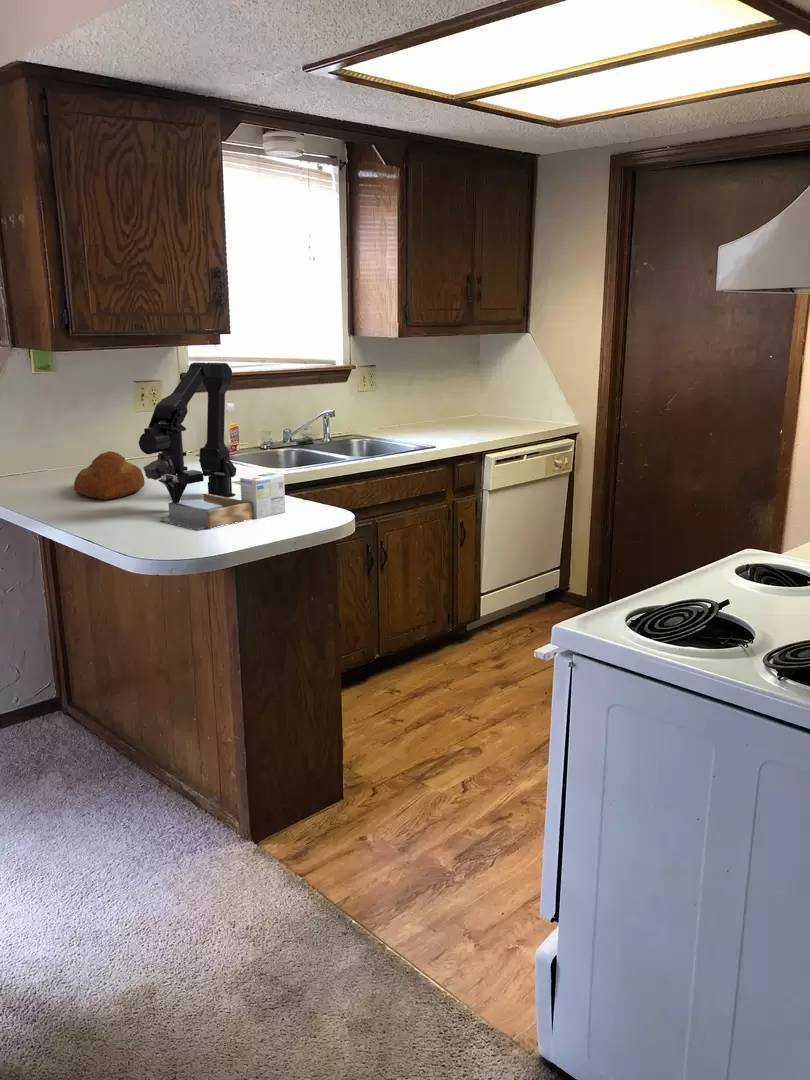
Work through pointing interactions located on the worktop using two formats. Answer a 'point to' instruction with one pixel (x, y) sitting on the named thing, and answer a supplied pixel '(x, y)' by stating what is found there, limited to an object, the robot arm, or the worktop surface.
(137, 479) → the bread
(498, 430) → the worktop surface
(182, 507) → the grey angle iron
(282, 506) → the light bulb box
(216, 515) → the oak shelf corner
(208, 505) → the boxed book
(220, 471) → the robot arm
